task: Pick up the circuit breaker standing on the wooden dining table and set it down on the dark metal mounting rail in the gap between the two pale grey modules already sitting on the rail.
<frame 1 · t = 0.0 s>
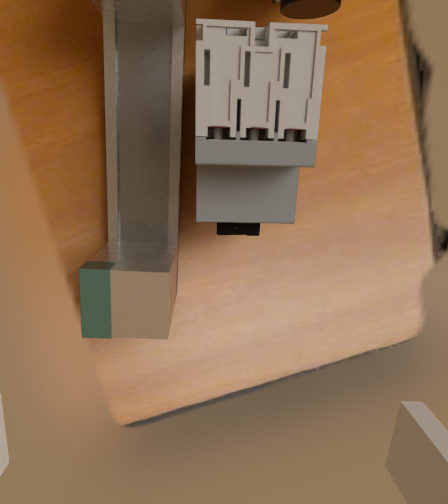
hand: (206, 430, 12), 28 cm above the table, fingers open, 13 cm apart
circuit breaker: (235, 148, 37), on the table
rail with modules: (146, 141, 36), on the table
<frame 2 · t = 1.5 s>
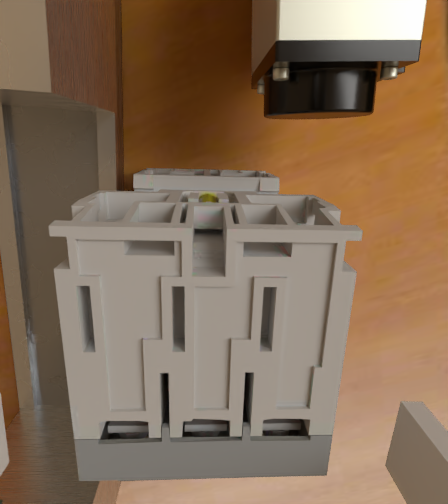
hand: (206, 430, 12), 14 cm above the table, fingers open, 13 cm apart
circuit breaker: (205, 273, 25), on the table
pneumatic valve: (288, 17, 21), on the table
rail with modules: (72, 268, 24), on the table
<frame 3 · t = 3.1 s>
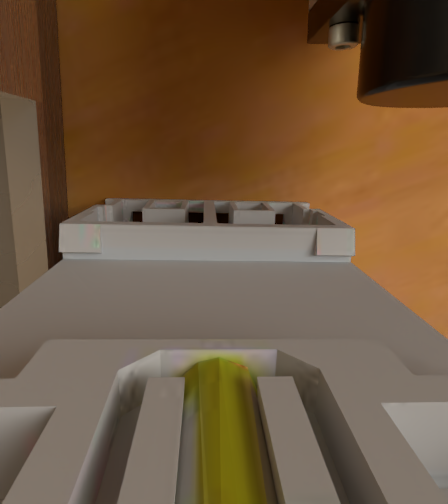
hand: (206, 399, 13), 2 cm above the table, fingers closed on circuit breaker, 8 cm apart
circuit breaker: (206, 361, 16), on the table, touching gripper
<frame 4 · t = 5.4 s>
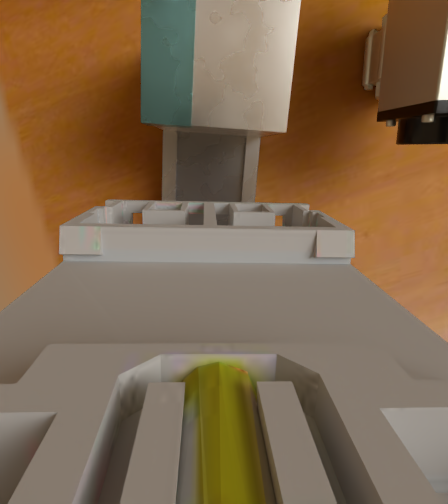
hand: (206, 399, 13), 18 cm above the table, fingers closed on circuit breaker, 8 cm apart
circuit breaker: (206, 362, 16), point 15 cm above the table, touching gripper
pneumatic valve: (388, 63, 27), on the table
rail with modules: (204, 258, 30), on the table
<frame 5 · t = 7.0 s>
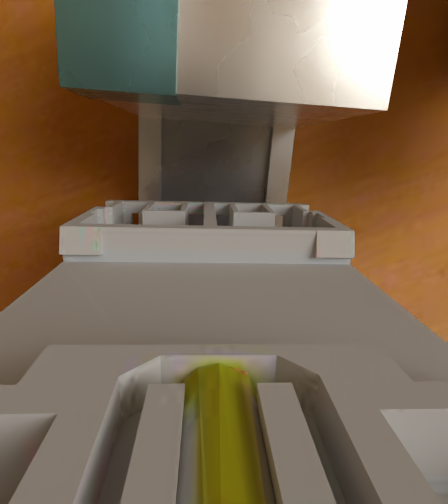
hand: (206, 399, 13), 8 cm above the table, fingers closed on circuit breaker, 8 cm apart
circuit breaker: (206, 363, 16), point 5 cm above the table, touching gripper
rail with modules: (206, 307, 21), on the table
when the fingers open (5 cm above the table, at t = 8.0 s): circuit breaker stays where it is, resting on rail with modules.
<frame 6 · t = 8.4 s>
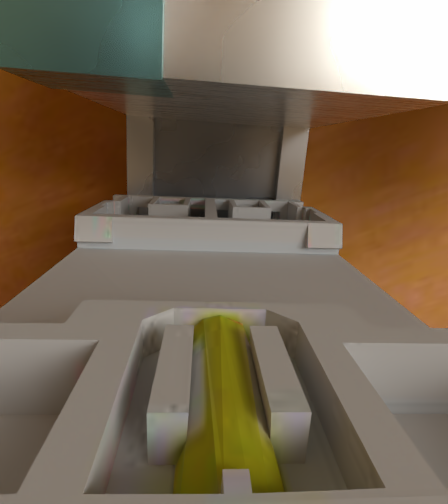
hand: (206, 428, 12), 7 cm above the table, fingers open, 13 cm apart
circuit breaker: (204, 350, 17), point 2 cm above the table, touching rail with modules
rail with modules: (205, 330, 18), on the table
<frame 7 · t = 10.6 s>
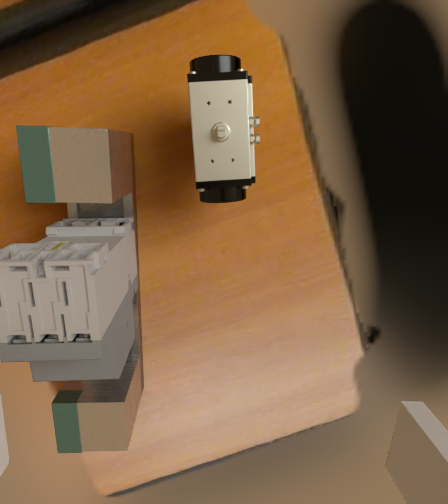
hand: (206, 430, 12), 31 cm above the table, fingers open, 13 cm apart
circuit breaker: (105, 278, 41), point 2 cm above the table, touching rail with modules
pneumatic valve: (220, 136, 39), on the table
rail with modules: (109, 273, 43), on the table
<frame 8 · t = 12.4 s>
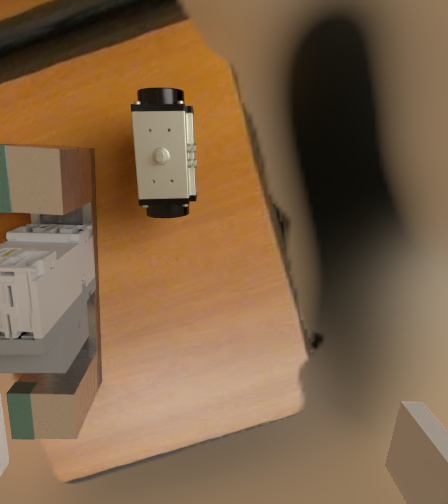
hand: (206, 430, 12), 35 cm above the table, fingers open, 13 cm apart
circuit breaker: (65, 280, 44), point 2 cm above the table, touching rail with modules
pneumatic valve: (175, 154, 43), on the table
rail with modules: (70, 274, 46), on the table
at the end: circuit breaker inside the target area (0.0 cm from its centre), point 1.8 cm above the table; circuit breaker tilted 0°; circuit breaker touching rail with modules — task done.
